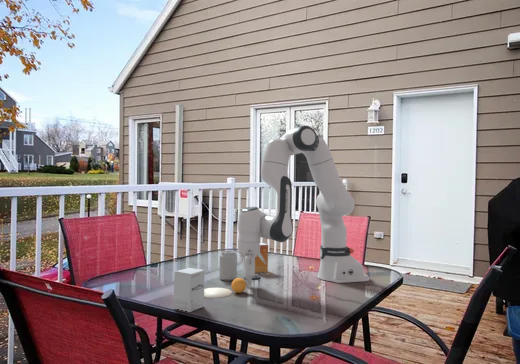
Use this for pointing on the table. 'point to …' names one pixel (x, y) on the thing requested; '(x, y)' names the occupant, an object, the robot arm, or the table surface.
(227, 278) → the can
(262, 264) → the small box
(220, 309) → the table surface
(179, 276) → the supplement box
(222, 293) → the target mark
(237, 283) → the ball
